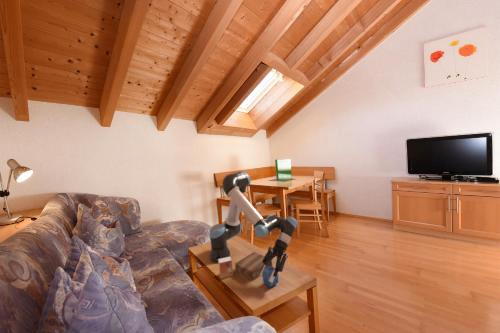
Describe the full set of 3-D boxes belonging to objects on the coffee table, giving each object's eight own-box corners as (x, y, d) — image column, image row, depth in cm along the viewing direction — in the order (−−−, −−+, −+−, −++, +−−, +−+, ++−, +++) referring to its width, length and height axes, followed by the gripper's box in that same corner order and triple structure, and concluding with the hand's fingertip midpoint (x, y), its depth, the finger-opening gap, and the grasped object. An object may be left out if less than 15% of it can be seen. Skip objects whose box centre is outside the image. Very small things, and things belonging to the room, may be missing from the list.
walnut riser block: (235, 272, 144) (234, 263, 144) (254, 259, 157) (253, 251, 156) (253, 281, 133) (252, 272, 132) (272, 267, 146) (271, 258, 145)
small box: (220, 279, 138) (218, 263, 137) (219, 274, 143) (217, 258, 142) (233, 275, 140) (231, 260, 139) (231, 271, 145) (229, 256, 144)
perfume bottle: (270, 287, 124) (268, 267, 122) (263, 282, 129) (261, 262, 127) (278, 282, 127) (276, 262, 126) (271, 277, 132) (269, 258, 131)
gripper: (298, 249, 128) (282, 288, 120) (274, 239, 143) (257, 274, 135) (292, 243, 124) (275, 284, 116) (267, 234, 139) (250, 270, 131)
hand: (265, 279), depth 125 cm, fingers closed on perfume bottle, 6 cm apart
